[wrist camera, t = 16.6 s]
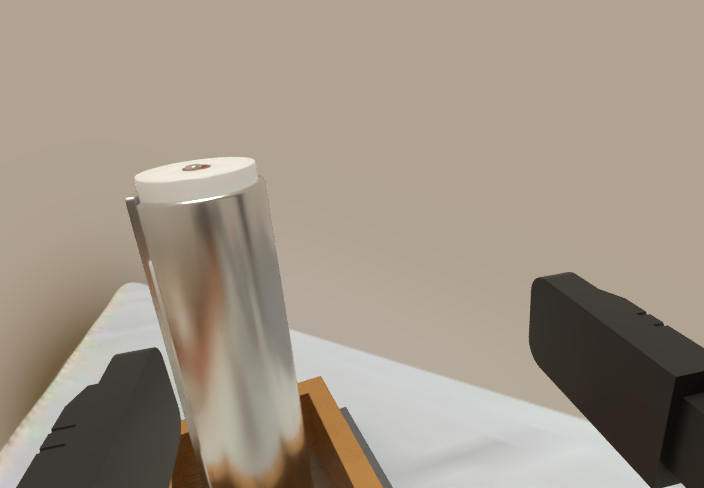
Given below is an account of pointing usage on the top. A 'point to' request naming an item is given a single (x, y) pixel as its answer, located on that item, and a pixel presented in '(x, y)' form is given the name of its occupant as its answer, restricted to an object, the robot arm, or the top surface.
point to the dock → (309, 446)
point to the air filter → (223, 319)
